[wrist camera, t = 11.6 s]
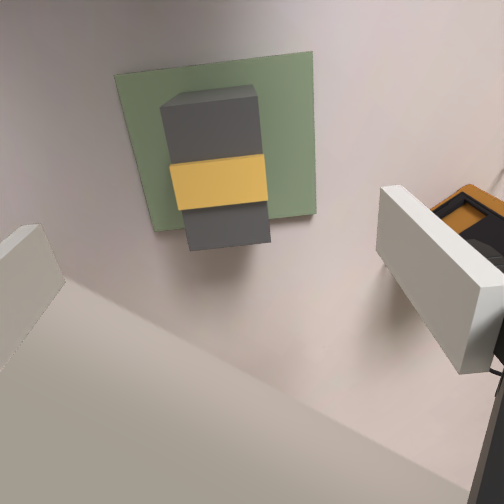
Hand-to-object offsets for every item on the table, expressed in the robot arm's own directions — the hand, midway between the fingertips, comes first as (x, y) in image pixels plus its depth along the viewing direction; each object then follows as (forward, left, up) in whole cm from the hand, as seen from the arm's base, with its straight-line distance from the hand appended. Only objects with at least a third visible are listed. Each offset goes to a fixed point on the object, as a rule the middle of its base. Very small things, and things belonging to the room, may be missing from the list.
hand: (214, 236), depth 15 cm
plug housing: (+1, 0, -20) cm, 20 cm away
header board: (+1, 0, -21) cm, 21 cm away
